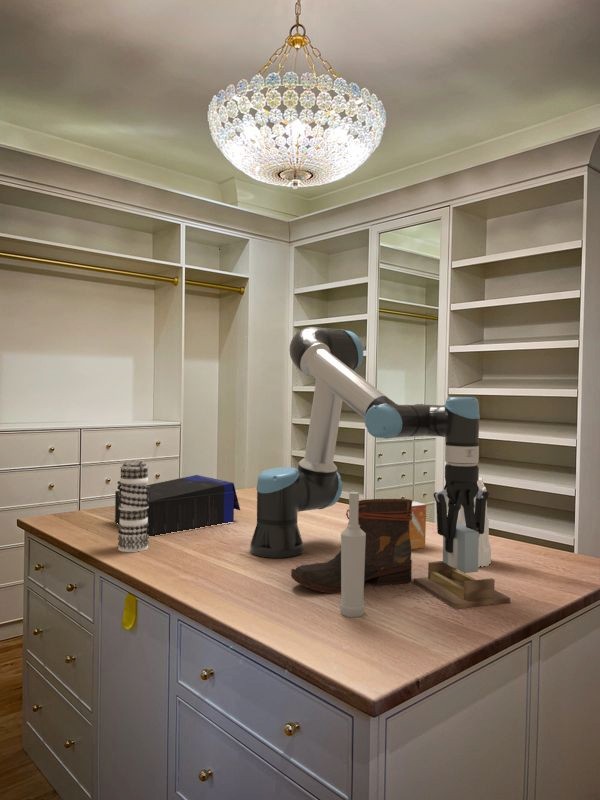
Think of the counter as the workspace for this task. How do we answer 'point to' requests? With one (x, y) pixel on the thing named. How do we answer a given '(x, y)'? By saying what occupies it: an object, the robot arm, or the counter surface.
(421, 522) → the small box
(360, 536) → the bottle
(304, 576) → the ankle boot
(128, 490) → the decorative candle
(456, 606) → the track sill
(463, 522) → the decorative vase
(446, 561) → the light gray rectangular block
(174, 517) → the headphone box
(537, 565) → the counter surface
